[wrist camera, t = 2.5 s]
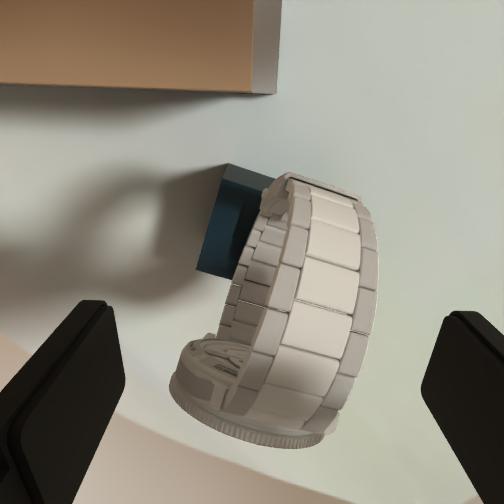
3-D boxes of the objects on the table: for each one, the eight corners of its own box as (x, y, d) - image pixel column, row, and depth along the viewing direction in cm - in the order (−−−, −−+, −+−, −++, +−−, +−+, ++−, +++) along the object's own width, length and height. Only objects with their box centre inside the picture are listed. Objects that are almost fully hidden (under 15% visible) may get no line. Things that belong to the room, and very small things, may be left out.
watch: (196, 271, 18) (125, 487, 8) (239, 125, 15) (208, 187, 5) (289, 298, 19) (329, 525, 9) (351, 165, 15) (527, 291, 5)
